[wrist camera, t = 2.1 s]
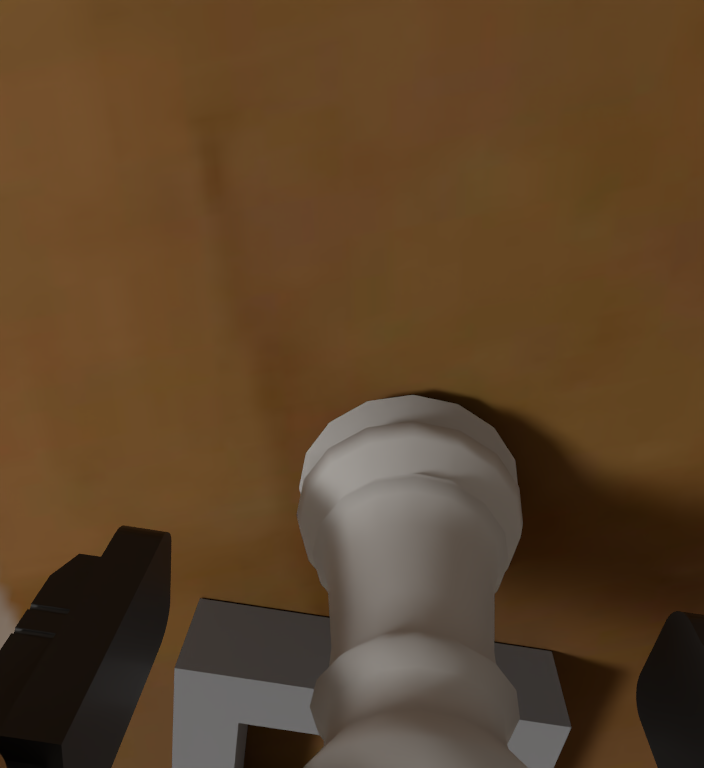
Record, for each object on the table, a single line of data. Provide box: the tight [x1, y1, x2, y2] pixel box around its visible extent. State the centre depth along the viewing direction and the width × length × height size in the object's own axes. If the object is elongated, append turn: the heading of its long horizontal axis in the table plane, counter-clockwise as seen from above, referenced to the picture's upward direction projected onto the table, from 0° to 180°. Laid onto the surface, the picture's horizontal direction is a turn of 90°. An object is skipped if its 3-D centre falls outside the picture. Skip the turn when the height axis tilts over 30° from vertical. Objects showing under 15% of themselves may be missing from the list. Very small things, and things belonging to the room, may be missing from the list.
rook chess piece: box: [297, 395, 528, 768], centre depth 10 cm, size 4×4×8 cm
